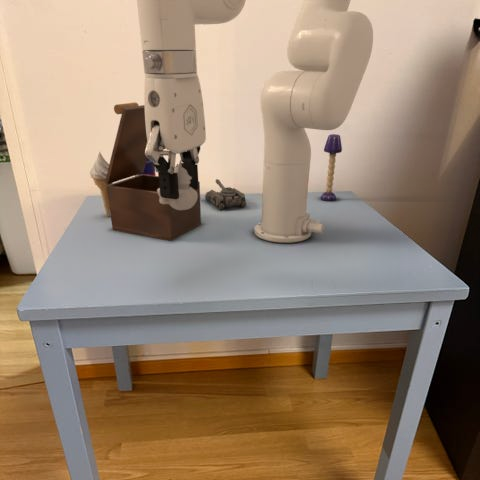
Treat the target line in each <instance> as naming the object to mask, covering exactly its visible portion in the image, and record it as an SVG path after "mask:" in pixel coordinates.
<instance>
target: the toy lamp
mask: <svg viewBox="0 0 480 480" xmlns="http://www.w3.org/2000/svg"><path fill="white" fill-rule="evenodd" d="M341 138H342V137H341V135H340V134H335V133H331V134H329V135H328V136H327V139H326V142H325V144H324V148H323V152H324V153H328V157H329V158H328V166H327V168H328V169H327V177H326V185H325V186H326V187H325V191H324V192H323V193H322V194H321V195H320V200H321V201H325V202H335V201H336V200H337V196H336V194H335V193H334V192H333V186H334V175H335V168H336V157H337V154H341V153H342V151H343V146H342V139H341Z"/></svg>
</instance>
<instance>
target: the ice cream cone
mask: <svg viewBox="0 0 480 480" xmlns="http://www.w3.org/2000/svg"><path fill="white" fill-rule="evenodd" d="M97 154H98V155H97V157H96V160H95V161H94V163H93V164H92V167H91V169H90V171H89V175H90V178H91V179H92V180H93V183H94V185H95V186H96V187H98V189H99V190H100V194H101V198H102V202H103V206H104V209H105V213H106V216H107V217H111V215H110V207H109V200H108V193H107V185H110V184H113V183H114V182H113V183H110V184H106V183H105V180H106V176H107V172H108V168H109V164H110V163H108V161H107V160H106V159H105V158H104V156H103V154H102V153H101V151H98V153H97Z"/></svg>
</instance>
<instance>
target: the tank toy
mask: <svg viewBox="0 0 480 480" xmlns="http://www.w3.org/2000/svg"><path fill="white" fill-rule="evenodd" d="M215 184H216V185H218V186H219V188H220V192H219V191H216V190H213V189H210V190H209V191H207V192H205V194H204V198H205V200H206V201H207V202H208V203H210V204H211V205H212V206H214V208H216V209H217V210H218V211H219V210H220V211H221V210H224V209H225V207H228V208H231V207H233V206H235V207H237V206H238V207H239V208H245V207H247V200H246V195H245V193H244V192H242V191H240V190H238V189H236V188H235V187H233V188H232V187H229V186H228V187H227V186H226V187H225V186H224V184H223V183H222V182H221V180H220V179H218V178H216V179H215Z"/></svg>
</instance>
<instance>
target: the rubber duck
mask: <svg viewBox="0 0 480 480" xmlns="http://www.w3.org/2000/svg"><path fill="white" fill-rule="evenodd" d="M182 163H183V162H182V161H181V159H180V160H179V162H178V163H177V164H175V171H174V173H177V175H178V187H179V198H178V199H169V198H162V197H161V196H160V188H159V189H158V190H157V193H158V195H159V197H160V199H159V202H160V203H161V204H169V205H170V206H171V207H173V208H174V209H176V210H187V209H190V208H191V207H193V206H194V204H195V203H196V201H197V197H198V195H197V192H196V191H195V190H194V189H193V188H192V187H190V186H189V184H190V183H191V182H190V180H191V179H192V177H191V176H189V175H188V173H187V170H186V169H184V168H183V167H182Z"/></svg>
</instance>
